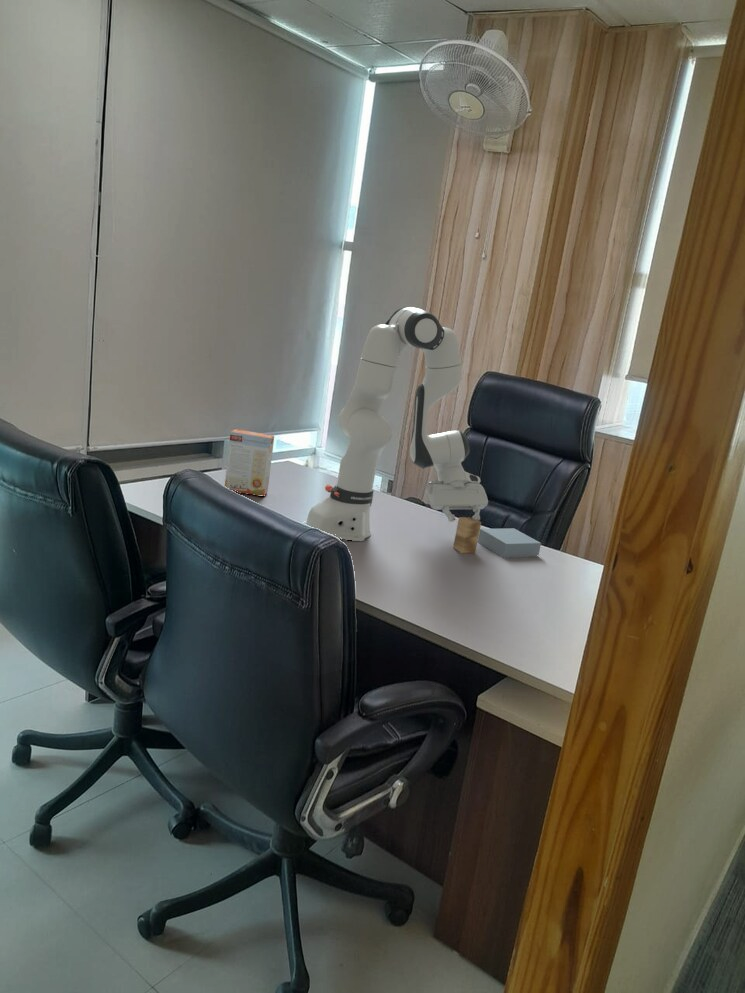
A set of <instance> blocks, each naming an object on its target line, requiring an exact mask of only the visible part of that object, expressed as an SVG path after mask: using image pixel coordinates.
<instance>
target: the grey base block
mask: <svg viewBox="0 0 745 993" xmlns="http://www.w3.org/2000/svg"><path fill="white" fill-rule="evenodd" d="M477 544H479V545H481V546H483V547H484V548H487V549H488V550H490V551H491V552H493V553H494V554H496V555H498V556H500V557H501V558H504V559H508V558H509V557H514V558H525V557H524V556H537V555H538V556H539V554H540V550H541V546H542V543H541V542H540V541H538V540H536V539H535V538H532V537H531V536H530V535H527V534H526V533H524V532H521V531H520V530H518V529H516V528H514V527H513V528H511V527H510V528H480V532H479V536H478V541H477Z"/></svg>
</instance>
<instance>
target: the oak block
mask: <svg viewBox="0 0 745 993" xmlns="http://www.w3.org/2000/svg"><path fill="white" fill-rule="evenodd" d="M457 521H458V522H457V525H456V530H455V535H454V542H453V546H452V547H453V549H455V550H456V551H458V552H459V553H461V554H475V553H476V550H477V547H478V537H479V532H480V529H481V525H482V522H481V521H480V520H479V521H478V520H476V519H474V518H473V517H468V516H467V517H466V516H465V517H464V516H462V517H460V516H459V517H458V520H457Z"/></svg>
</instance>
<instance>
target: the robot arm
mask: <svg viewBox="0 0 745 993" xmlns="http://www.w3.org/2000/svg"><path fill="white" fill-rule="evenodd" d="M364 342H365V343H364V345H363V347H362V351H361V356H360V360H359V364H358V369H357V373H356V377H355V381H354V384H353V388H352V390H351V392H350V395H349V397H348V399H347V402H346V404H345V406H344V407H343V408H341V410H340V412H339V415H338V425H339V427H340V430H341V432H343V434H344V435H345V436H346V437H348V439H349V444H348V447H347V449H346V452H345V454H344V455H343V457H342V458H341V460H340V462H339V469H338V476H337V482H336V484H335V485H334V486H331V485H330V484H326V485H325V487H324V490H325V492H327V493H330V495H329V496H327V497H326V498H324V500H321V502H318V503H317V504H315V505H313V506H312V507H311V508H310V509H309V512H308V515H307V518H306V520H303V521H304V522H306V523H305V524H307V525H309V526H311V527H314V528H318V529H320V530H322V531H325V532H327V533H330V534H333V535H334V536H336V537H338V538H339V539H341V538H342V539H347V540H352V541H351V542H364V541H365V539H366V538H369V537H370V536H371V534H372V533H371V527H370V524H371V523H370V521H371V520H370V518H371V517H370V512H371V506H372V503H373V499H374V498H373V497H374V482H375V478H376V477H375V476H376V471H377V467H378V463H379V461H380V459H381V456H382V453H383V451H384V448H385V447H387V446H388V444H389V443H390V442H391V439H392V436H393V435H392V434H393V431H392V430H393V429H392V427H391V425H390V423H389V422H388V420H387V418H386V417H385V416H383V415H382V414H380V412H381V408H382V406H383V404H384V403H385V400H386V399H387V398H388V397H389V396H390V395H391V392H392V391H393V390H392V389H393V385H394V381H395V377H396V372H397V369H398V364H399V359H400V358H399V357H400V356H401V353H402V351H403V350H404V349H405V347H407V346H409V347H413V348H414V347H415V348H417V349H421V351H422V352H423V355H424V365H425V366H424V367H425V372H424V377H423V380H422V382H421V383H420V384H419V385H417V388H416V391H415V396H414V407H413V422H412V431H411V432H412V434H411V441H410V448H409V455H410V458H411V459H410V460H411V461H412V463H413V464H414V465H416V466H417V467H419V468H421V469H427V468H430V467H434V468H435V470H436V476H437V480H438V481H437V480H436V481H433V480H432V481H429V482H428V483H427V485H426V489H427V492H428V500H429V504H430V508H432V509H433V510H435V511H436V510H437V511H439V510H440V511H442V513H443V514H444V515H445V516H446V517H447V520H448V522H449V523H450V522H454V521H456V516H455V514H452V512H451V511H450V510H472V511H473V512H474V515H472V517H473V518H474V519H476V520H478V521H479V522H480V520H481V515H480V512H481V510H483V509H485V507H487V505H488V504H489V500H488V496H487V495H488V494H487V493H486V490H485V488H484V487H483V485H482V484H481V478H480V476H477V475H476V474H475V475H474V474H472V473H469V472H467V471H465V469H464V467H463V465H462V462H464V461H465V460H466V458H467V457H468V456H469V454H470V451H471V448H470V443H469V441H468V440H469V439H468V437H467V435H466V434H465V433H463V432H462V431H461V430H458V429H457V430H449V431H444V432H440V433H439V432H438V433H432V434H428V425H429V424H428V423H429V414H430V410H431V408H432V407H433V405H434V404H435V403H437V402H439V401H440V400H441V399H443V398H445V397H447V396H448V395H450V394H451V393H453V392H454V391H455V390H456V389H457V388H458V387H459V386H460V384H461V382H462V378H463V364H462V356H461V355H462V354H461V349H460V344H459V339H458V336H457V334H456V332H455V331H454V330H453V329H451V328H450V327H446V326H445V327H444V326H442V325H441V323H440V322H439V319H438V318H437V317H436V316H435V315H434V314H433V313H432V312H430V311H428V310H424V309H422V308H420V307H413V306H402V307H399V308H398V309H396V310H395V311H394V312H393V313H392V314H391V316H390V317H389V318H388V320H387V321H386V322H385V323H384V324H377V325H375V326H373V327H372V328H371V329H370V330H369V332H368V334H367V337H366V340H365V341H364ZM304 522H302V523H304ZM335 534H336V535H335ZM340 537H341V538H340ZM342 539H341V540H340V541H343V540H342ZM347 540H346V541H347Z"/></svg>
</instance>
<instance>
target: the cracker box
mask: <svg viewBox="0 0 745 993" xmlns="http://www.w3.org/2000/svg"><path fill="white" fill-rule="evenodd" d="M274 442H275V435H273V434H266V433H261V432H255V431H249V430H242V429H236V428H235V429H233V430H231V431H230V434H229V443H228V449H227V450H228V451H227V452H228V453H227V461H226V470H225V480H224V487H225V486H226V487H227V488H229V489H230V490H233V491H235V490H236V491H235V492H237V491H238V492H237V493H236V494H241V493H248V494H255V495H263V496H264V495H265V494H266V493H267V492H269V486H270V485H269V484H270V474H271V469H272V468H271V466H272V461H273V460H272V458H273V450H274ZM235 492H234V493H235ZM239 492H241V493H239ZM267 494H268V493H267ZM267 494H266V495H267ZM266 495H265V496H266Z"/></svg>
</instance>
